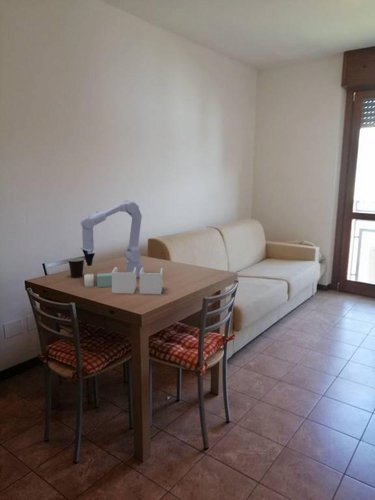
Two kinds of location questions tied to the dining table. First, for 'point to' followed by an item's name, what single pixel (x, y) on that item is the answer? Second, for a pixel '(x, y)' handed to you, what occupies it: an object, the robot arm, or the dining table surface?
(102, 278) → the green tapered block
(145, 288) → the storage container
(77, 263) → the coffee mug
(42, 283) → the dining table surface
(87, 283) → the white domed capsule
